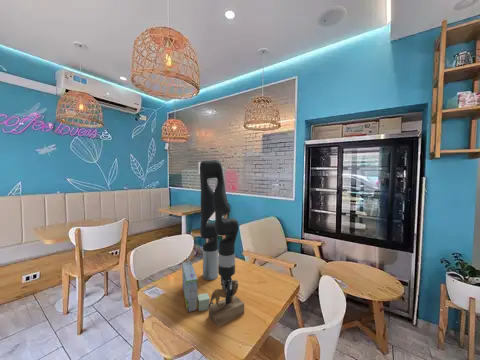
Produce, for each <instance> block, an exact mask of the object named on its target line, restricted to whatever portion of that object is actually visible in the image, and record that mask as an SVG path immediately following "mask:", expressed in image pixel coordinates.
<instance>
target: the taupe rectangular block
mask: <svg viewBox="0 0 480 360" xmlns="http://www.w3.org/2000/svg"><path fill="white" fill-rule="evenodd" d="M232 301H233V302H234V303H233V304H232V303H230V304H226V298H223V299H222V300H220V301H219V302H218V304H220V305H221V307H218V306H217V304H216V302H215V303H213V304H211V305H210V307H209V309H208V318H209V319H210V320H212V322H213V323H214V324H215V325H216V326H217V327H218V328H219V327H221V326H223V325H224V324H226V323H228V322H230V321H232V320H234V319H237V318H238V317H240V316H241V315H243V314H245V302H244V301H242V300H241V299H240V298H239V297H237V296H236V294H235V295H233V300H232Z"/></svg>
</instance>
